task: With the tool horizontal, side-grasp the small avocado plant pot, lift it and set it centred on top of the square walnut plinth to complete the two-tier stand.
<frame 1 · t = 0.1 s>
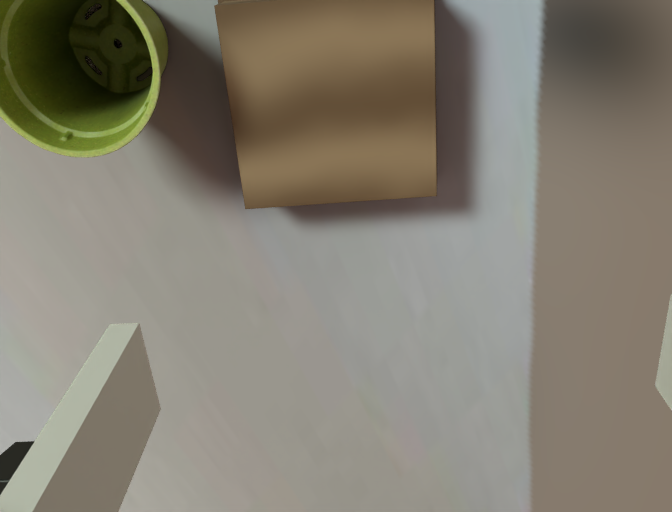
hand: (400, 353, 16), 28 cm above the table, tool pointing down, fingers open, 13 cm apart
walnut plinth: (333, 92, 41), on the table
plant pot: (122, 43, 40), on the table
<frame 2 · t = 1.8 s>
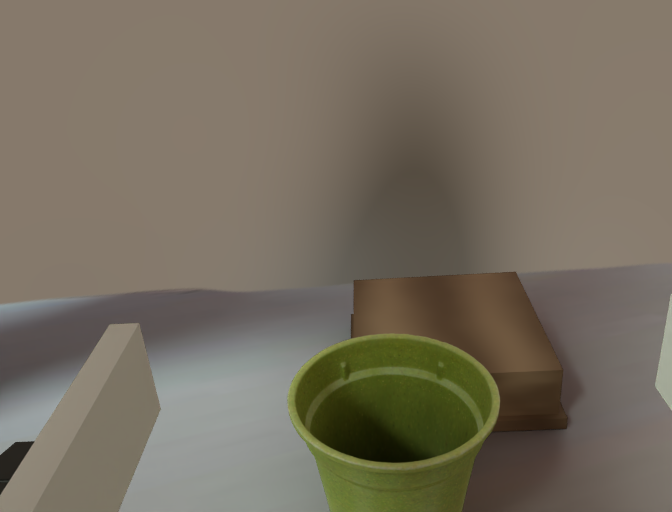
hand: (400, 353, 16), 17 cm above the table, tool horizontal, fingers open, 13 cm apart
walnut plinth: (444, 368, 44), on the table
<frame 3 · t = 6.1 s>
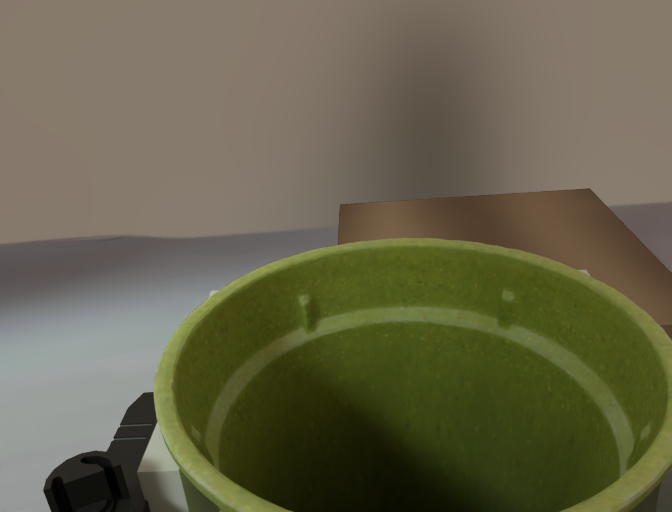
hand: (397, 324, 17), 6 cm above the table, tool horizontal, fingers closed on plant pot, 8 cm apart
walnut plinth: (484, 334, 27), on the table
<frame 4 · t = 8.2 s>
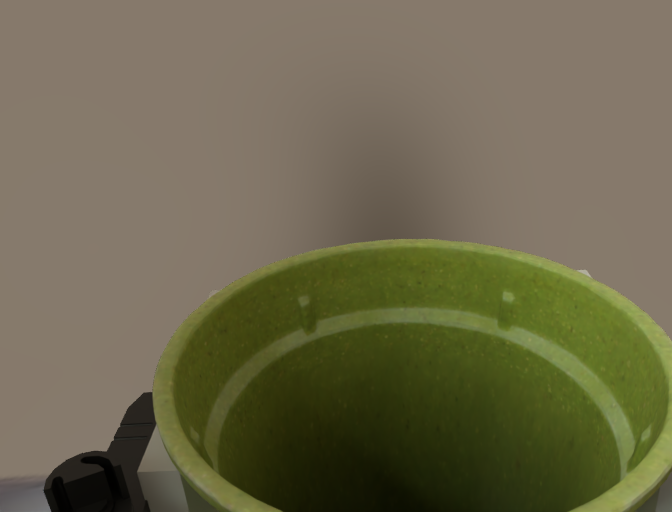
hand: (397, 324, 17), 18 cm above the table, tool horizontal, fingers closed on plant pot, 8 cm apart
when the fingers open (11 cm above the table, at t = 10.6 s): plant pot drops 1 cm, resting on walnut plinth.
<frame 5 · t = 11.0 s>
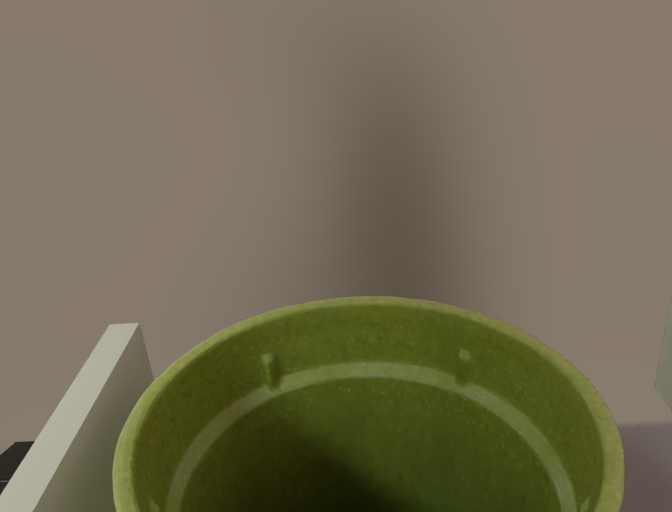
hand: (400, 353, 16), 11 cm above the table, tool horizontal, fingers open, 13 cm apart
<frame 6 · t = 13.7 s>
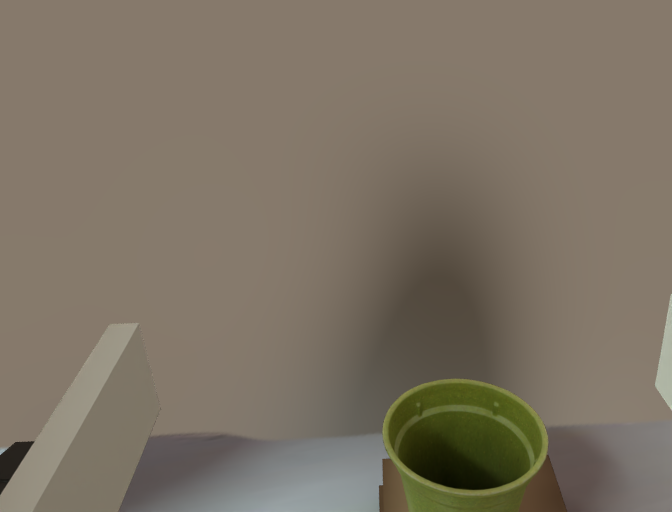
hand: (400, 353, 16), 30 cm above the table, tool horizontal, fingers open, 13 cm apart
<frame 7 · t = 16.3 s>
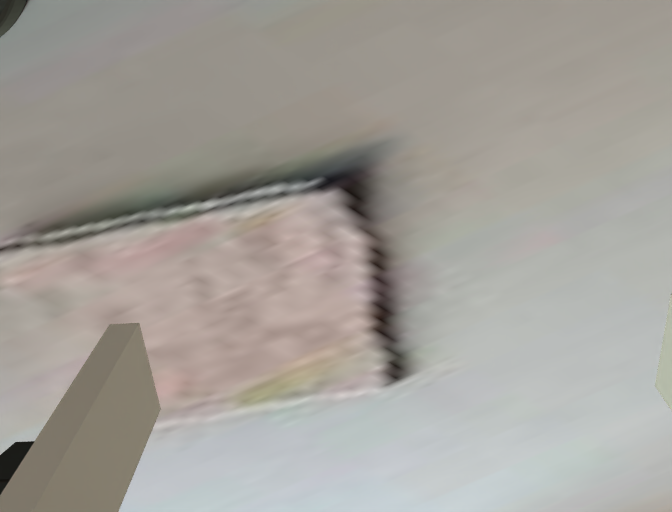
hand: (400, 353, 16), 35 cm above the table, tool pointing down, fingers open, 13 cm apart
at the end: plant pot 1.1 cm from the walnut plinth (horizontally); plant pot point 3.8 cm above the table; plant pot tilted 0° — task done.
